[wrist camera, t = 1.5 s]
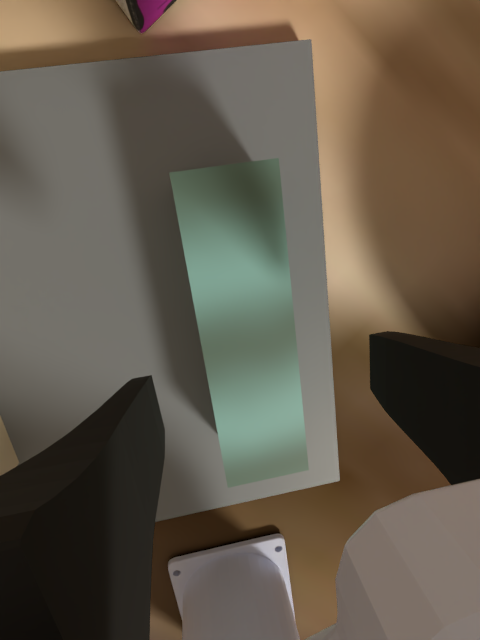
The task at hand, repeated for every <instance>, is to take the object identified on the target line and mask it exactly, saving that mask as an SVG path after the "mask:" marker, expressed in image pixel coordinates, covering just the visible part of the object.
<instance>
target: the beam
mask: <svg viewBox="0 0 480 640" xmlns="http://www.w3.org/2000/svg"><path fill="white" fill-rule="evenodd" d="M169 174H170V179H171V185H172V190H173V195H174V201H175V206H176V212H177V217H178V222H179V228H180V233H181V238H182V244H183V249H184V255H185V260H186V265H187V271H188V276H189V282H190V287H191V292H192V298H193V303H194V308H195V314H196V319H197V325H198V330H199V335H200V341H201V346H202V352H203V357H204V362H205V368H206V373H207V378H208V384H209V389H210V395H211V400H212V405H213V411H214V416H215V422H216V427H217V432H218V438H219V443H220V448H221V454H222V459H223V465H224V470H225V475H226V481H227V486H228V488H230V487H234V486H239V485H243V484H248V483H252V482H257V481H262V480H266V479H271V478H275V477H280V476H284V475H289V474H293V473H298V472H303V471H307V470H309V466H308V456H307V445H306V435H305V424H304V414H303V404H302V393H301V383H300V373H299V362H298V352H297V342H296V331H295V321H294V311H293V300H292V290H291V279H290V269H289V259H288V248H287V238H286V228H285V217H284V207H283V197H282V186H281V176H280V166H279V158H274V159H267V160H259V161H252V162H244V163H237V164H229V165H222V166H215V167H207V168H200V169H192V170H185V171H177V172H170V173H169Z"/></svg>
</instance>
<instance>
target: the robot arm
mask: <svg viewBox="0 0 480 640" xmlns="http://www.w3.org/2000/svg"><path fill="white" fill-rule="evenodd" d="M369 340H370V389H371V391H372V392H373V394H374V395H375V397H376V398H377V400H378V401H379V403H380V404H381V406H382V407H383V408H384V410H385V411H386V412H387V414H388V415H389V416H390V417H391V418H392V419H393V420H394V421H395V422H396V423H397V425H398V426H399V427H400V428H401V429H402V430H403V431H404V432H405V433H406V434H407V435H408V436H409V437H410V439H411V440H412V441H413V442H414V443H415V444H416V445H417V446H418V447H419V448H420V449H421V450H422V451H423V452H424V453H425V455H426V456H427V457H428V458H429V459H430V460H431V461H432V462H433V463H434V464H435V465H436V467H437V468H438V469H439V470H440V471H441V472H442V474H443V475H444V476H445V477H446V479H447V480H448V481H449V483H450V484H451V485H450V486H446V487H442V488H437V489H433V490H429V491H424V492H420V493H416V494H412V495H410V496H408V497H405V498H403V499H401V500H399V501H396V502H394V503H392V504H390V505H388V506H385V507H383V508H381V509H379V510H376V511H375V512H374V513H373V514H372V515H371V516H370V517H369V518H368V519H367V520H366V521H365V522H364V523H363V524H362V526H361V527H360V528H359V529H358V530H357V531H356V532H355V533H354V534H353V535H352V536H351V537H350V538H349V539H348V541H347V543H346V544H345V547H344V550H343V554H342V558H341V561H340V565H339V569H338V572H337V576H336V594H337V609H338V615H337V623H336V624H334V625H332V626H330V627H328V628H326V629H324V630H322V631H320V632H318V633H316V634H314V635H313V636H311V637H309V638H307V639H305V640H480V348H477V347H471V346H465V345H460V344H455V343H450V342H445V341H440V340H435V339H430V338H426V337H421V336H416V335H411V334H405V333H399V332H388V331H387V332H381V333H376V334H370V335H369ZM164 459H165V428H164V424H163V420H162V416H161V411H160V407H159V403H158V399H157V395H156V391H155V387H154V383H153V379H152V375H149V376H144V377H138V378H133V379H131V380H129V381H128V382H127V383H126V384H125V385H123V386H122V387H121V388H120V389H119V390H118V391H117V392H116V393H115V394H114V395H113V396H111V397H110V398H109V399H108V400H107V401H106V402H105V403H104V404H103V405H102V406H101V407H99V408H98V409H97V410H96V411H95V412H94V413H92V414H91V415H90V416H89V417H88V418H86V419H85V420H84V421H83V422H82V423H80V424H79V425H78V426H77V427H75V428H74V429H73V430H72V431H70V432H69V433H68V434H66V435H65V436H64V437H62V438H61V439H59V440H58V441H56V442H55V443H54V444H52V445H51V446H49V447H48V448H46V449H45V450H43V451H42V452H40V453H39V454H37V455H35V456H34V457H32V458H30V459H28V460H27V461H25V462H23V463H22V464H20V465H18V466H16V467H15V468H13V469H11V470H10V471H8V472H6V473H5V474H3V475H1V476H0V640H149V633H150V597H151V571H152V550H153V536H154V527H155V519H156V513H157V506H158V500H159V493H160V487H161V480H162V473H163V467H164ZM277 546H278V547H277ZM176 570H178V571H176ZM168 571H169V575H170V578H171V582H172V586H173V589H174V593H175V597H176V600H177V604H178V608H179V611H180V615H181V618H182V640H300V638H299V634H298V630H297V626H296V623H295V616H294V608H293V600H292V593H291V585H290V578H289V570H288V563H287V555H286V547H285V541H284V537H283V535H281V534H279V533H277V534H272V535H268V536H263V537H259V538H255V539H251V540H246V541H242V542H238V543H234V544H229V545H225V546H221V547H216V548H212V549H208V550H204V551H199V552H195V553H191V554H187V555H182V556H178V557H174V558H172V559H170V560H169V562H168Z"/></svg>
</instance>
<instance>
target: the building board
mask: <svg viewBox="0 0 480 640" xmlns="http://www.w3.org/2000/svg"><path fill="white" fill-rule="evenodd" d="M274 158H279V166H280V176H281V186H282V197H283V207H284V217H285V228H286V238H287V248H288V259H289V269H290V279H291V290H292V300H293V311H294V321H295V331H296V342H297V352H298V362H299V373H300V383H301V393H302V404H303V414H304V424H305V435H306V445H307V456H308V466H309V470H307V471H303V472H298V473H293V474H289V475H284V476H280V477H275V478H271V479H266V480H262V481H257V482H252V483H248V484H243V485H239V486H234V487H230V488H228V486H227V481H226V475H225V470H224V465H223V459H222V454H221V448H220V443H219V438H218V432H217V427H216V422H215V416H214V411H213V405H212V400H211V395H210V389H209V384H208V378H207V373H206V368H205V362H204V357H203V352H202V346H201V341H200V335H199V330H198V325H197V319H196V314H195V308H194V303H193V298H192V292H191V287H190V282H189V276H188V271H187V265H186V260H185V255H184V249H183V244H182V238H181V233H180V228H179V222H178V217H177V212H176V206H175V201H174V195H173V190H172V185H171V179H170V174H169V173H170V172H177V171H185V170H192V169H200V168H207V167H215V166H222V165H229V164H237V163H244V162H252V161H259V160H267V159H274ZM149 375H152V379H153V383H154V387H155V391H156V395H157V399H158V403H159V407H160V411H161V416H162V420H163V424H164V428H165V459H164V467H163V473H162V480H161V487H160V493H159V500H158V506H157V513H156V519H155V522H157V521H162V520H166V519H171V518H175V517H180V516H184V515H189V514H193V513H198V512H202V511H207V510H211V509H215V508H220V507H224V506H229V505H233V504H238V503H242V502H247V501H251V500H256V499H260V498H265V497H269V496H273V495H278V494H282V493H287V492H291V491H296V490H300V489H305V488H309V487H314V486H318V485H323V484H327V483H331V482H336V481H340V477H339V461H338V446H337V431H336V415H335V400H334V384H333V369H332V353H331V338H330V322H329V307H328V291H327V276H326V261H325V245H324V230H323V214H322V199H321V183H320V168H319V152H318V137H317V121H316V106H315V91H314V75H313V60H312V44H311V39H309V40H300V41H290V42H281V43H271V44H261V45H252V46H242V47H232V48H223V49H213V50H204V51H194V52H184V53H175V54H165V55H155V56H146V57H136V58H126V59H117V60H107V61H98V62H88V63H78V64H69V65H59V66H49V67H40V68H30V69H21V70H11V71H1V72H0V476H1V475H3V474H5V473H6V472H8V471H10V470H11V469H13V468H15V467H16V466H18V465H20V464H22V463H23V462H25V461H27V460H28V459H30V458H32V457H34V456H35V455H37V454H39V453H40V452H42V451H43V450H45V449H46V448H48V447H49V446H51V445H52V444H54V443H55V442H56V441H58V440H59V439H61V438H62V437H64V436H65V435H66V434H68V433H69V432H70V431H72V430H73V429H74V428H75V427H77V426H78V425H79V424H80V423H82V422H83V421H84V420H85V419H86V418H88V417H89V416H90V415H91V414H92V413H94V412H95V411H96V410H97V409H98V408H99V407H101V406H102V405H103V404H104V403H105V402H106V401H107V400H108V399H109V398H110V397H111V396H113V395H114V394H115V393H116V392H117V391H118V390H119V389H120V388H121V387H122V386H123V385H125V384H126V383H127V382H128V381H129V380H131V379H133V378H138V377H144V376H149Z"/></svg>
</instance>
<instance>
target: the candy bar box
mask: <svg viewBox="0 0 480 640" xmlns="http://www.w3.org/2000/svg"><path fill="white" fill-rule="evenodd" d="M175 1H176V0H116V2H117V3H118V5H119V6H120V7H121V9H122V10H123V12H124V13H125V14H126V16H127V17H128V19H129V20H130V21H131V23H132V24H133V26H134V27H135V28H136V30H137V31H138V32H139V33H144V32H145V31H146V30H147V29H148V28H149V27H150V26H151V25H152V24H153V23H154V22H155V21H156V20H157V19H158V18H159V17H160V16H161V15H162V14H163V13H164V12H165V11H166V10H167V9H168V8H169V7H170V6H171V5H172V4H173V3H174V2H175Z"/></svg>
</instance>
